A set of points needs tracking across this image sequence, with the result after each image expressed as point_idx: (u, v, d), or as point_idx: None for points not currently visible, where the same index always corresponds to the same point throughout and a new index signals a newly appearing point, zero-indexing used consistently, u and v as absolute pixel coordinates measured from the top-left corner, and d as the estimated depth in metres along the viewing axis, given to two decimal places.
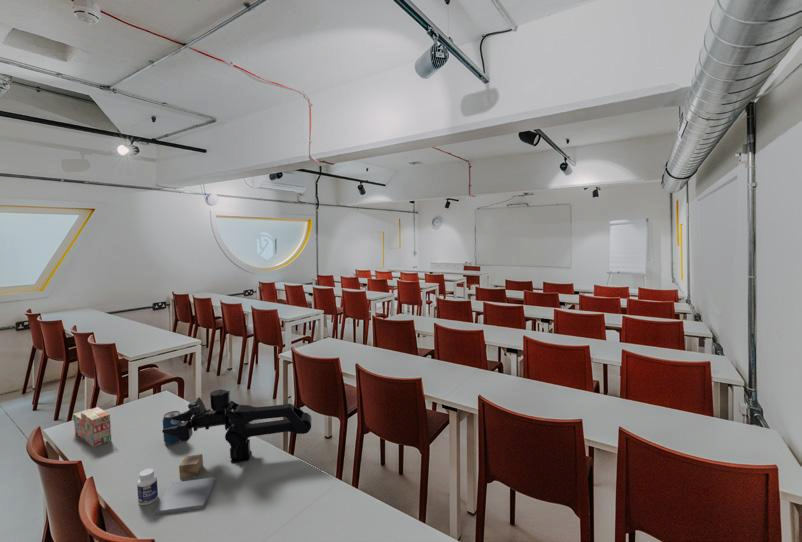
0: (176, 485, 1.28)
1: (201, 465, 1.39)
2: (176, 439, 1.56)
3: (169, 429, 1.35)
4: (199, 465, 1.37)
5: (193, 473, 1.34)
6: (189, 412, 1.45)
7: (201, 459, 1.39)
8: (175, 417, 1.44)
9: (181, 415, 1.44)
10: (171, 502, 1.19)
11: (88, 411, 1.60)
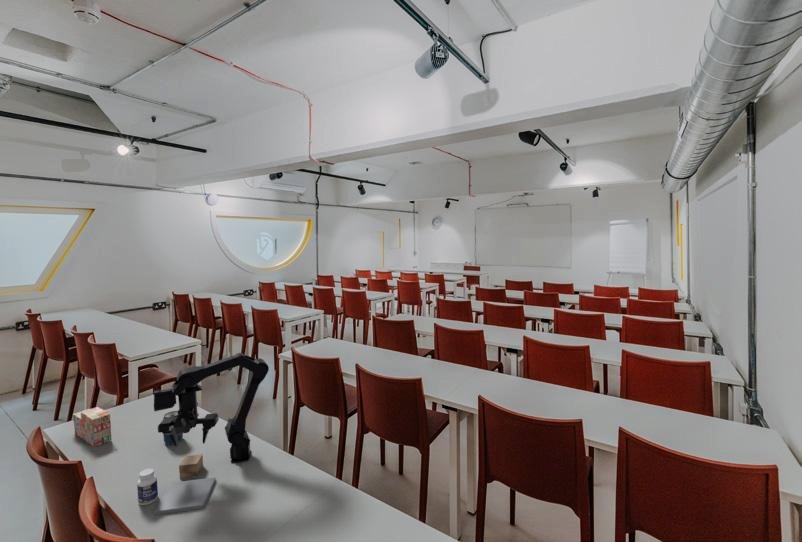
0: (176, 485, 1.28)
1: (201, 465, 1.39)
2: None
3: (205, 437, 1.36)
4: (199, 465, 1.37)
5: (193, 473, 1.34)
6: (172, 432, 1.33)
7: (201, 459, 1.39)
8: (176, 443, 1.35)
9: (175, 438, 1.34)
10: (171, 502, 1.19)
11: (88, 411, 1.60)
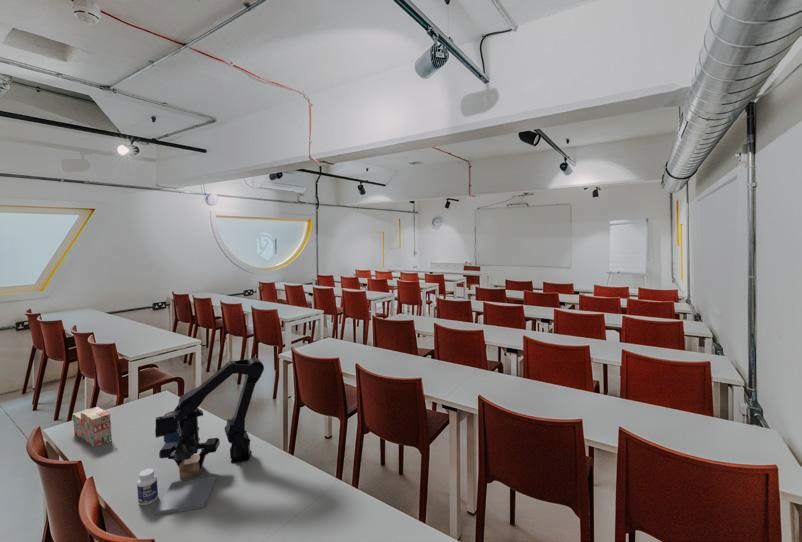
0: (176, 485, 1.28)
1: None
2: (176, 439, 1.56)
3: (202, 462, 1.37)
4: (199, 464, 1.37)
5: (193, 472, 1.34)
6: None
7: None
8: None
9: None
10: (171, 502, 1.19)
11: (88, 411, 1.60)
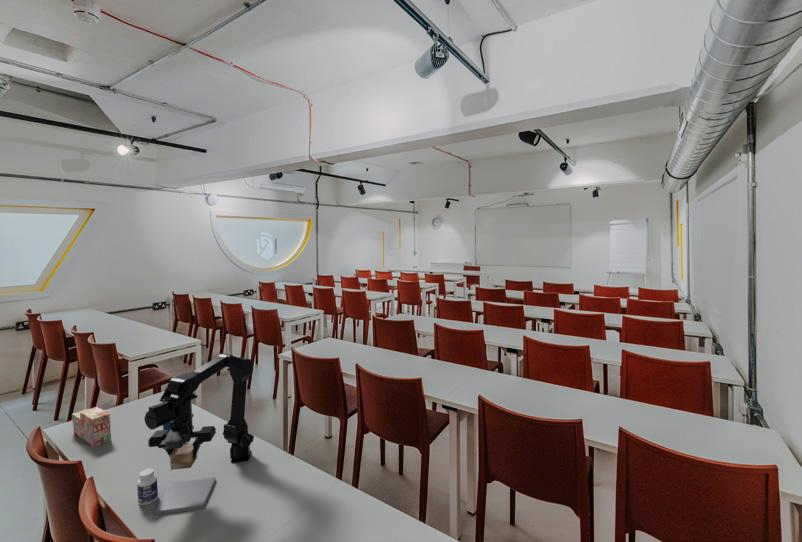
0: (176, 485, 1.28)
1: None
2: None
3: (196, 453, 1.23)
4: None
5: (185, 463, 1.21)
6: None
7: None
8: None
9: None
10: (171, 502, 1.19)
11: (87, 411, 1.60)
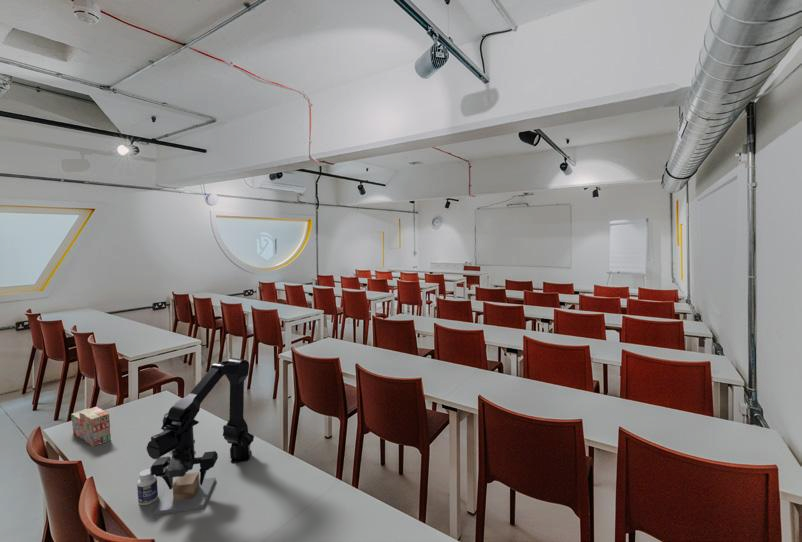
0: None
1: (197, 485, 1.26)
2: None
3: (202, 478, 1.24)
4: (195, 485, 1.24)
5: (188, 494, 1.21)
6: (167, 473, 1.21)
7: (197, 478, 1.26)
8: (171, 485, 1.22)
9: (169, 480, 1.22)
10: (171, 502, 1.19)
11: (87, 411, 1.60)
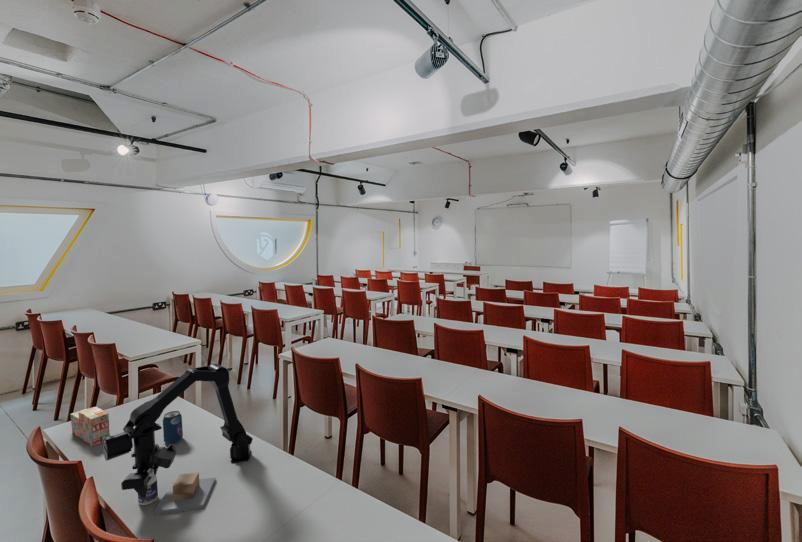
0: None
1: (197, 485, 1.26)
2: (176, 439, 1.56)
3: None
4: (195, 485, 1.24)
5: (188, 494, 1.21)
6: None
7: (197, 478, 1.26)
8: None
9: None
10: (171, 502, 1.19)
11: (86, 410, 1.60)
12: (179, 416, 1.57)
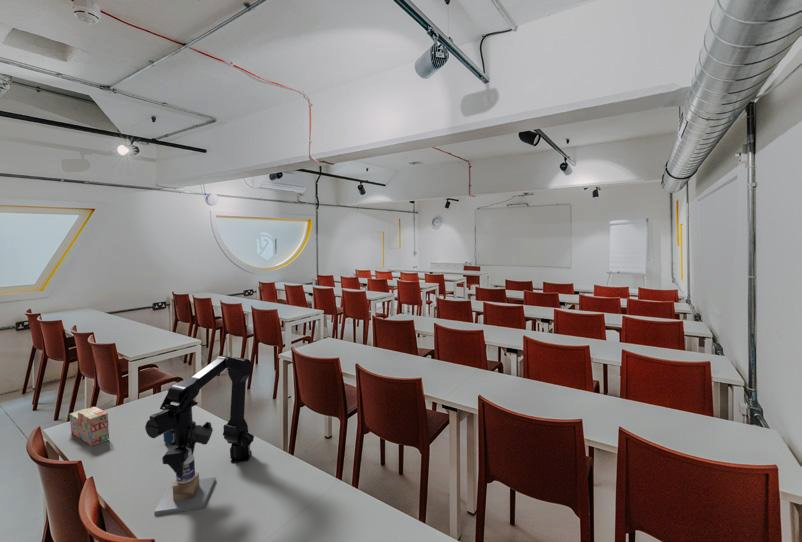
0: None
1: (197, 485, 1.26)
2: None
3: None
4: (195, 485, 1.24)
5: (188, 494, 1.21)
6: None
7: (197, 478, 1.26)
8: None
9: None
10: (171, 502, 1.19)
11: (85, 410, 1.61)
12: None
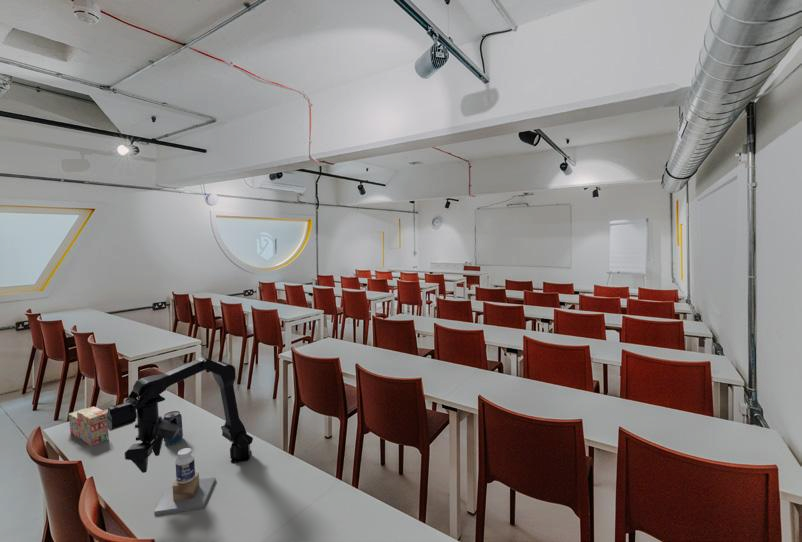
0: None
1: (197, 485, 1.26)
2: (176, 439, 1.56)
3: None
4: (195, 485, 1.24)
5: (188, 494, 1.21)
6: None
7: (197, 478, 1.26)
8: None
9: None
10: (171, 502, 1.19)
11: (84, 410, 1.61)
12: (179, 416, 1.57)
